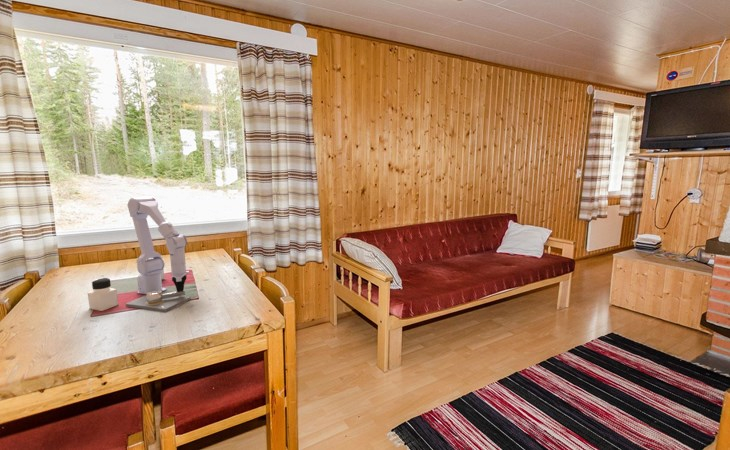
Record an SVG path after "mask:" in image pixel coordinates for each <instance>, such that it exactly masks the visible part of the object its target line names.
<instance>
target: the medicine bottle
mask: <svg viewBox="0 0 730 450" xmlns="http://www.w3.org/2000/svg"><path fill="white" fill-rule="evenodd" d="M111 284H112V283H111V279H110V278H108V277H100V278H96V279H94V280H93V281H91V286H92V290H91V291H88V292H87V299H88V307H89V309H90V310H95V311H99V312H104V311H105V310H106V311H107V310H108V309H111V308H113V307H116V306H118V305H119V299H118V290H117V289H116V288H112V287H111Z"/></svg>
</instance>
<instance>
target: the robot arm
mask: <svg viewBox="0 0 730 450" xmlns="http://www.w3.org/2000/svg"><path fill="white" fill-rule="evenodd" d="M126 205H127V208H128V214H129V216H130V217H131V218H132V222H133V226H134V230H135V233H136V237H137V241H138V246H139V250H140V252H141V254H140V255H139V257H137V259H136V262H137V263H136V264H137V266H136V268H137V272H138V273H139V275H138V276H137V279H136V280H137V290H138V291H137V292H136V294H142V295H147V293H148V292H151V291H162V292H164V291H167V290H168V288H165V287H163V282H162V280H163V279H162V280H161V272H162V270H163V269H164V268H165V264H166V263H165V260H164V258H163V256H162V254H161V253H159V252H157V251H156V250H155V247H154V243H153V240H152V235H151V232H150V228H149V224H148V220H147V218H148V216H149V217H150V218H151V219H152V220H153V222H154V223H155V224H156V225H157V226H158V227H157V230H158V232H159V233H160V234H161V236H162V237H163V239H165V246H166V248H167V251H168V253H169V257H170V269H171V270H170V271H171V272H170V273H171V274H170V276H172V278H171V281H172V282H173V283H174V285H175V288H176V292H177V291H183V290H185V289H184V288H185V282H186V280H187V274H190V270H187V266H186V263H187V262H186V254H185V253H186V251H185V247H186V246H187V245H188V240H187V239H188V238H187V237H186V236H185V235H184V234H182V233H180V232H178V230H177V229H176V228H175V227H174V225H173V224H172V222H169V221H167V220H166V219H165V218H164V216H163V214H162V213H161V210H160V209H159V202H158V201H157V200H156V198H155V196H152V195H151V196H150V195H149V196H142V197H130V199H129V200H128V203H127V204H126ZM161 256H162V257H161ZM149 258H153V259H149ZM162 258H163V259H162ZM147 259H149V260H147ZM164 270H165V269H164Z"/></svg>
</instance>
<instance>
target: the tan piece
mask: <svg viewBox="0 0 730 450" xmlns="http://www.w3.org/2000/svg"><path fill="white" fill-rule="evenodd" d="M162 293H163V291H151V292H148V293H147V294H146V295H147V303H149V304H154V303H159V302H161V301H162V300H163V299H166V298H171V297H177V296H186V291H185V289H184V290H183V291H177V290H176V291H171V292H166V293H164V294H162Z"/></svg>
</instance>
